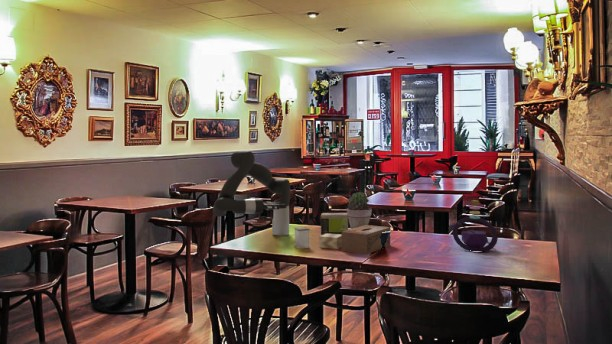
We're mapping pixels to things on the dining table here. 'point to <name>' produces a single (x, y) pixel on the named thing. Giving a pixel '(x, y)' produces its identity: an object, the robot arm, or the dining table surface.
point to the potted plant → (359, 210)
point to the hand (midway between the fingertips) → (283, 205)
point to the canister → (302, 237)
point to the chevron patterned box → (330, 241)
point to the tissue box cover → (363, 239)
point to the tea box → (334, 223)
